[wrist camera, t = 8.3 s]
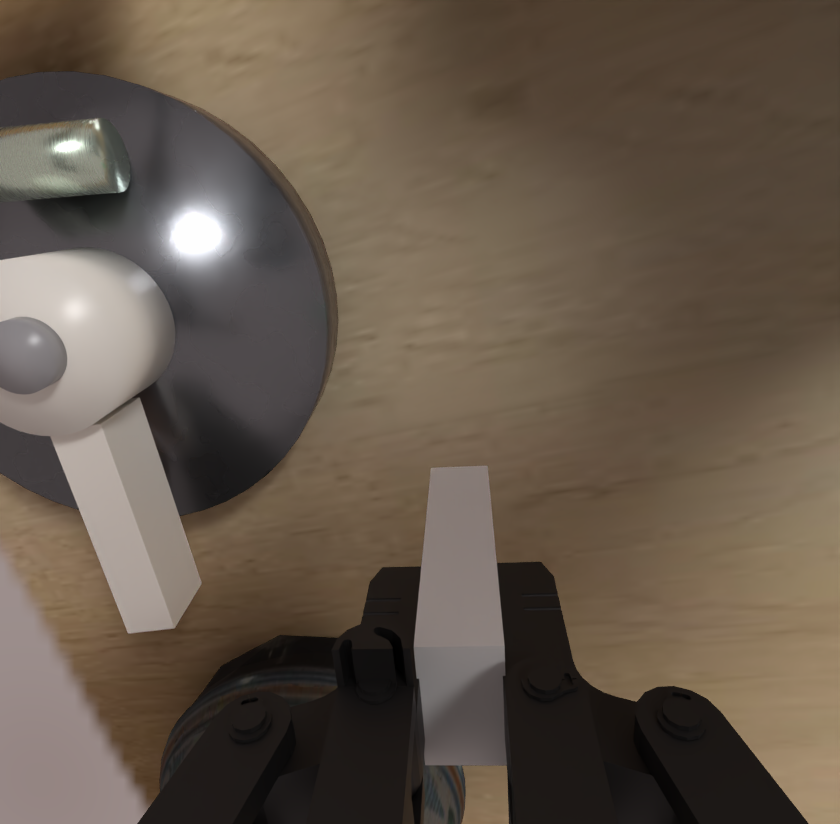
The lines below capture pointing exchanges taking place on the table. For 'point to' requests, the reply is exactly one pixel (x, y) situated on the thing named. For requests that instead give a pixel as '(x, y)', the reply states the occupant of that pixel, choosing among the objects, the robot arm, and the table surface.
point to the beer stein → (297, 683)
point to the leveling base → (175, 270)
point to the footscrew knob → (100, 413)
